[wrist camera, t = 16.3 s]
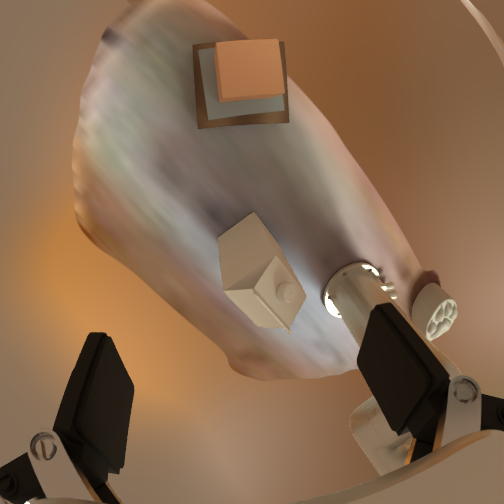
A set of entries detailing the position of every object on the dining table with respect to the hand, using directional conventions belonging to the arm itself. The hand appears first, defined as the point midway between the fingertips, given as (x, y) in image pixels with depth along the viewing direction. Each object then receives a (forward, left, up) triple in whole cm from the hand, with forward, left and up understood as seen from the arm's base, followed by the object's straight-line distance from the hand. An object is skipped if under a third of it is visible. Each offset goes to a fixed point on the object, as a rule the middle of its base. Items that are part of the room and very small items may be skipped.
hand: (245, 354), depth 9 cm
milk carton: (-4, +11, -34) cm, 36 cm away
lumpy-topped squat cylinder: (-49, +34, -34) cm, 68 cm away
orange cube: (-4, -13, -27) cm, 30 cm away
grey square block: (-4, -13, -31) cm, 33 cm away
